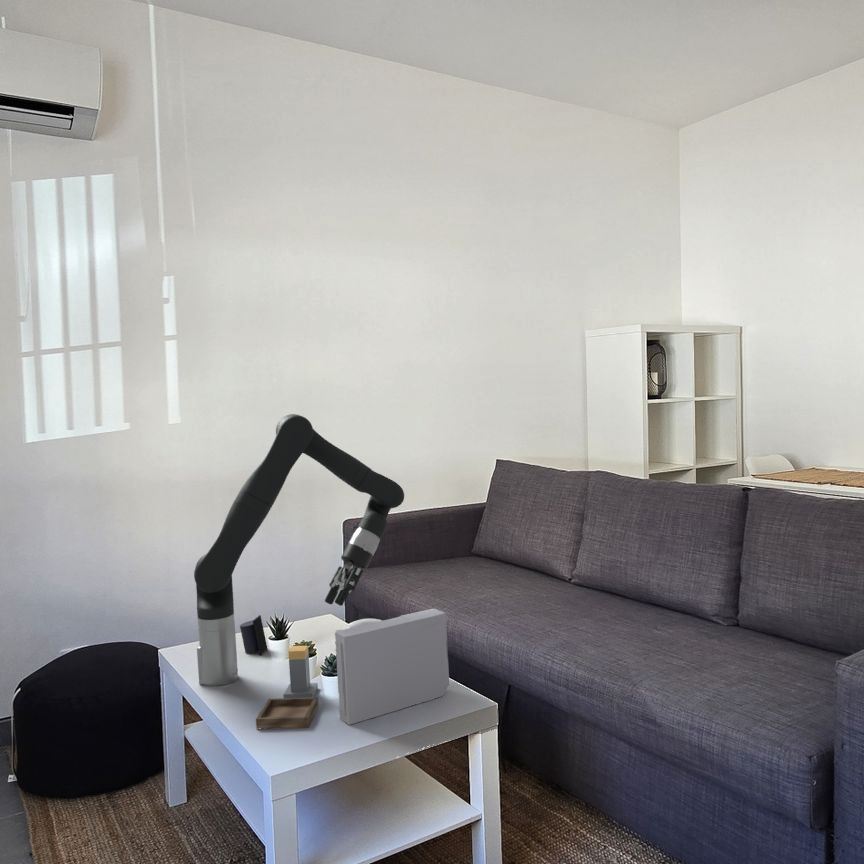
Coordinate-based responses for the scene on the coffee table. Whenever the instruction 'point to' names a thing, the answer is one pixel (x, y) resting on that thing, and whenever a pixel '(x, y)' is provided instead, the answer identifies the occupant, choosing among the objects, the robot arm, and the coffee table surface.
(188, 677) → the coffee table surface
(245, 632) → the speaker
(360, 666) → the game console
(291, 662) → the plug
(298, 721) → the tray
